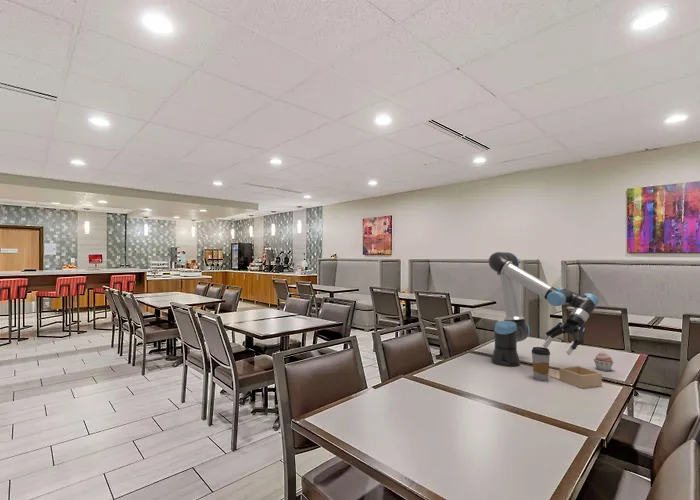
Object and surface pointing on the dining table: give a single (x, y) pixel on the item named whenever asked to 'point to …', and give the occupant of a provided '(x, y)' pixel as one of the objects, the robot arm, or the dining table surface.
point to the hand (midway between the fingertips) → (555, 350)
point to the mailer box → (577, 376)
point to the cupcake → (603, 361)
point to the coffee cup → (540, 363)
